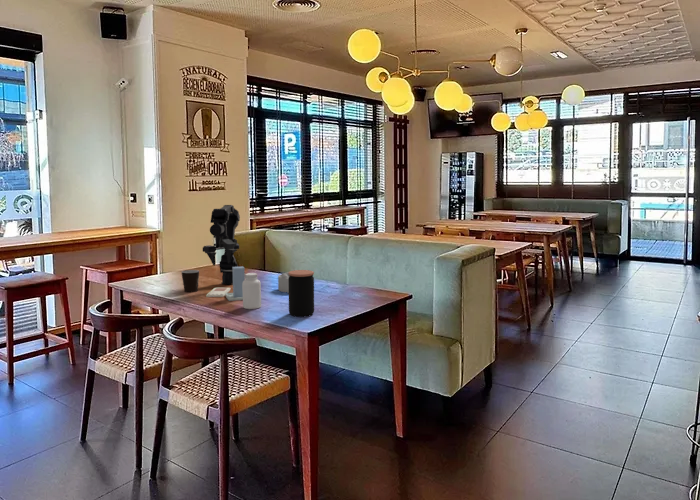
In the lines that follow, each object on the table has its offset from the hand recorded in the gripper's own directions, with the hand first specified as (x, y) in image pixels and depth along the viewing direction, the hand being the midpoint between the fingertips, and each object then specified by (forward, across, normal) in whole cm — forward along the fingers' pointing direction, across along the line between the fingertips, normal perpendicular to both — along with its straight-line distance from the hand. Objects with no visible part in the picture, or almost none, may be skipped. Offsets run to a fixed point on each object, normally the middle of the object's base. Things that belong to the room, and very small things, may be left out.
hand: (221, 264), depth 281 cm
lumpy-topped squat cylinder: (+13, +22, -26) cm, 37 cm away
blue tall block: (+12, -6, -20) cm, 24 cm away
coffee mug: (+13, -11, +10) cm, 20 cm away
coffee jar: (+13, -8, -65) cm, 67 cm away
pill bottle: (+13, -14, -40) cm, 44 cm away
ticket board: (+13, -6, -5) cm, 15 cm away
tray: (+13, -6, -20) cm, 25 cm away
